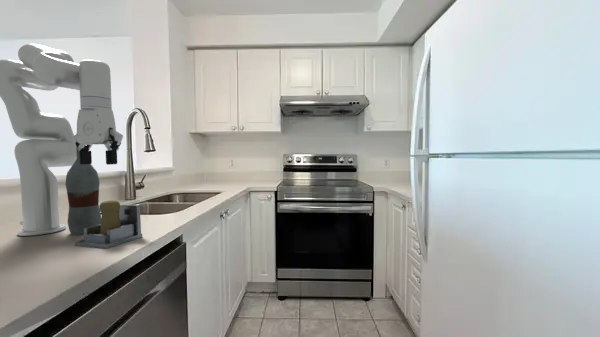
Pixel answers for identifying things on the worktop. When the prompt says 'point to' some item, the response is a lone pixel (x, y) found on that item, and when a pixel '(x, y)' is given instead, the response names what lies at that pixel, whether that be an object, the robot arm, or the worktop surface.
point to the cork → (109, 216)
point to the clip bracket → (115, 230)
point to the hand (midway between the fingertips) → (98, 164)
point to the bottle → (82, 197)
